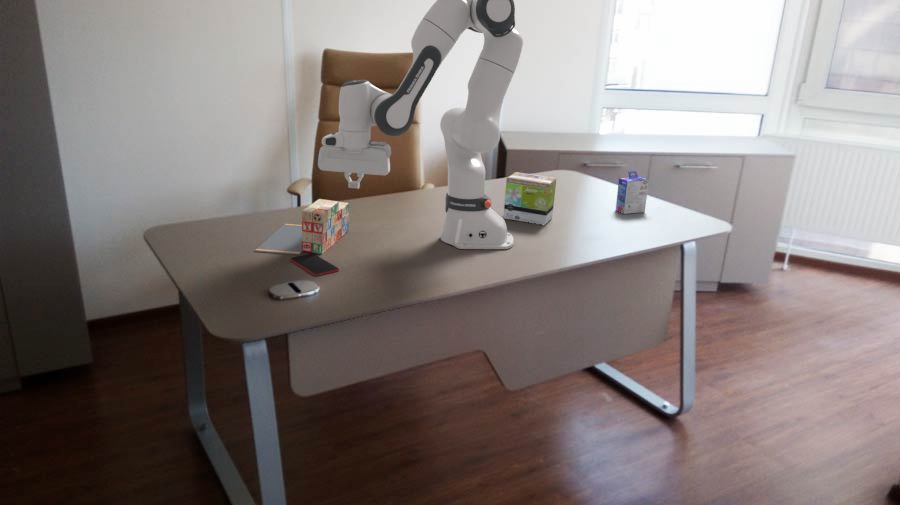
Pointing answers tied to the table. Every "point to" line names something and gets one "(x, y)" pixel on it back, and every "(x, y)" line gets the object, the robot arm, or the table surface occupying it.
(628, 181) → the ink cartridge box
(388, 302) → the table surface
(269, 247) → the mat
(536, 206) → the tea box
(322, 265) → the smartphone
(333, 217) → the stack of blocks
